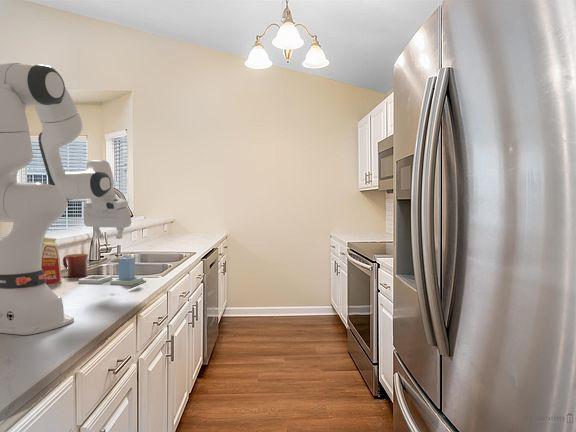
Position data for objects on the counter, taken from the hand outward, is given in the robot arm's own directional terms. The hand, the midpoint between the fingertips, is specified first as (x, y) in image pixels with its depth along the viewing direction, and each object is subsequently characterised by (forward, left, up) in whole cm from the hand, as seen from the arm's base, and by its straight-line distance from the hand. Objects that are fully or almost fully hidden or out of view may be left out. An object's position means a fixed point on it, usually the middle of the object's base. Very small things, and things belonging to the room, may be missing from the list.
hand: (109, 238), depth 152 cm
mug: (+32, -9, -20) cm, 39 cm away
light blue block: (0, -8, -19) cm, 20 cm away
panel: (+6, -6, -20) cm, 21 cm away
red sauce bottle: (+30, +5, -20) cm, 37 cm away
